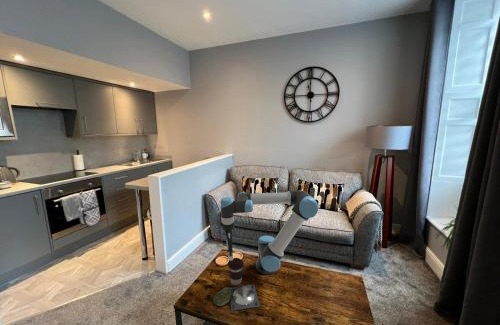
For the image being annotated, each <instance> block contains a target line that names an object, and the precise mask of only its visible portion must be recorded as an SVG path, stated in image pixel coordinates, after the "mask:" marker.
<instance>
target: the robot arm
mask: <svg viewBox="0 0 500 325" xmlns="http://www.w3.org/2000/svg"><path fill="white" fill-rule="evenodd" d="M285 204H287V205H288V206H292V208H291V214H290V215H289V217H288V218H287V220H286V221H285V223H284V225H283V226H282V228H281V229H280V230H279V231H278V233H277V235H276V237H274V236H271V235H262V236H259V238H258V241H257V243H258V246H257V247H258V258H257V260H256V263H255V268H256V270H257V272H259V273H260V274H263V275H272V274H274V273H276V271H277V270H279V269H280V267H281V261H282V258H283V257H284V255H285V254H284V251H285V250H286V248H287V247H288V245H289V243H291V241H292V239H293V238H294V236H296V233H297V232H298V230H299V229H301V228H300V227H301V226H302V225H303V224H304V223H305V222H307V221H309V219H312V218H313V217H315V216H316V215H317V214H318V213H319V203H318V202H317V200H316V199H315V198H313V196H312V195H310V194H309V192H307V191H304V190H287V191H286V192H283V191H282V192H263V193H262V192H261V193H255V192H253V193H247V192H245V191H241V192H239V193H238V194H237V196H236V200H233V198H232V196H229V197H228V196H226V197H222V198H221V199H220V214H221V215H220V216H221V217H220V220H221V229H222V230H223V231H224V233H225V238H226V239H225V240H226V248H227V250H226V253H227V256H228V262H229V261H231V260H233V258H234V255H233V254H234V252H233V251H234V250H233V231H232V230H234V229H235V216H234V214H249V213H252V212H253V210H254V208H253V207H254V206H255V205H285Z"/></svg>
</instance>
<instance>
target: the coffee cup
mask: <svg viewBox="0 0 500 325" xmlns="http://www.w3.org/2000/svg"><path fill="white" fill-rule="evenodd" d="M227 265H228V272H229V279H230V283H231V284H232V285H233V286H238V285H239V286H240V284H241V283H242V280H243V274H244V273H243V272H244V271H243V270H244V269H243V268H244V261H243V260H242V259H241V258H239V257H233V260H231V261H229V260H228V263H227Z"/></svg>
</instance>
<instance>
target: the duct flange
mask: <svg viewBox="0 0 500 325" xmlns="http://www.w3.org/2000/svg"><path fill="white" fill-rule="evenodd" d="M228 288H229V290H230V291H231V297H230V300H229V303H230V310H231V312H233V311H241V310H246V309H254V308H260V302H259V297H258V292H257V290H256V286H255V284H248V285H247V284H246V285H239V286H233V287H232V286H231V287H228Z"/></svg>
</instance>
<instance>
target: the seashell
mask: <svg viewBox="0 0 500 325" xmlns="http://www.w3.org/2000/svg"><path fill="white" fill-rule="evenodd" d="M229 288H230V287H228V286H225V287H223V288H222V289H220V290H219V291H217V292H215V294H214V296H213V298H212V303H213V304H214V305H216V306H218V307H222V306H224V305H226V304H228V303H230V297H231V291H230V290H229Z"/></svg>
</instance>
